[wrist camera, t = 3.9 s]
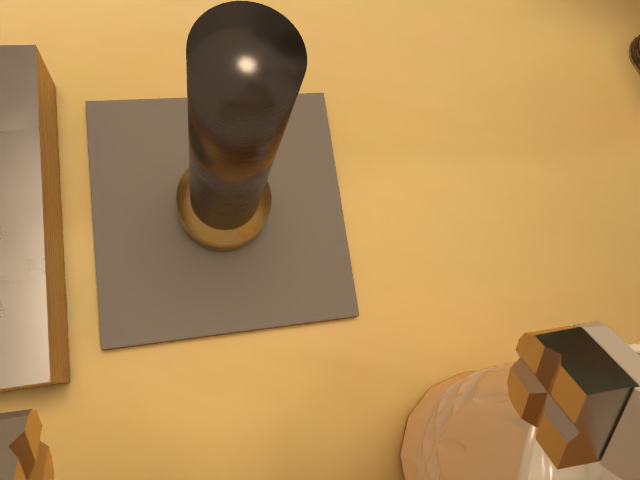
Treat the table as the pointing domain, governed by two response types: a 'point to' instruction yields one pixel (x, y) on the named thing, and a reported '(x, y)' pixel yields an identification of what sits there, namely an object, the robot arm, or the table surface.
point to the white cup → (480, 435)
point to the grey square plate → (200, 263)
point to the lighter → (635, 53)
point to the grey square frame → (30, 226)
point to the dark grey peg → (236, 119)
